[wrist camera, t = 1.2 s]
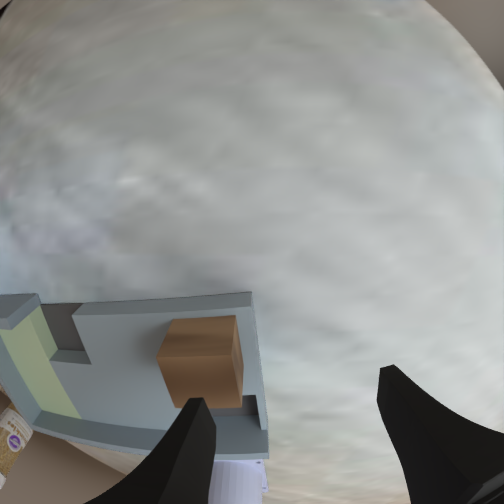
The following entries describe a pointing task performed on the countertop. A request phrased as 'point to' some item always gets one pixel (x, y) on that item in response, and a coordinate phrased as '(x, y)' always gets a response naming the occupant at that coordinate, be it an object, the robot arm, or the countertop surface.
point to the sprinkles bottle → (11, 439)
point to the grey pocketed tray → (120, 371)
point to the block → (203, 361)
